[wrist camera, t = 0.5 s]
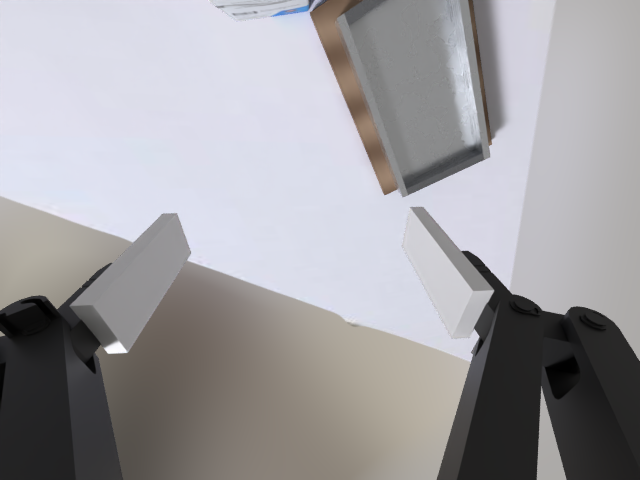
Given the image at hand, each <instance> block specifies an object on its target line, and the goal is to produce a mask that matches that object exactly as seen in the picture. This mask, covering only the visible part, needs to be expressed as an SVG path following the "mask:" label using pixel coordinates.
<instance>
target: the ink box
mask: <svg viewBox="0 0 640 480" xmlns="http://www.w3.org/2000/svg"><path fill="white" fill-rule="evenodd" d="M207 1H209V2H210V3H212V4H213V5H214V6H216V7H217V8H218V9H220V10H221V11H222V12H224V13H225V14H226V15H228V16H229V17H230V18H232V19H233V20H234V21H236V22H238V21H246V20H252V19H259V18H265V17H272V16H279V15H285V14H292V13H298V12H305V11H308V10H309V0H207Z"/></svg>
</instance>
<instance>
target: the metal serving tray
mask: <svg viewBox="0 0 640 480" xmlns="http://www.w3.org/2000/svg"><path fill="white" fill-rule="evenodd" d="M334 24H335V26H336V29H337V32H338V34H339V37H340V40H341V42H342V45H343V48H344V50H345V53H346V56H347V58H348V61H349V64H350V66H351V69H352V72H353V74H354V77H355V80H356V82H357V85H358V88H359V90H360V93H361V96H362V98H363V101H364V104H365V106H366V109H367V112H368V114H369V117H370V120H371V122H372V125H373V128H374V130H375V133H376V136H377V138H378V141H379V143H380V146H381V149H382V151H383V154H384V157H385V159H386V162H387V165H388V167H389V170H390V173H391V175H392V178H393V181H394V183H395V186H396V189H397V190H398V192H399V193H400V194H401V196H402V197H405V196H407V195H409V194H411V193H414V192H416V191H418V190H420V189H422V188H424V187H427V186H429V185H431V184H433V183H435V182H437V181H440V180H442V179H444V178H446V177H448V176H450V175H452V174H455V173H457V172H459V171H461V170H463V169H465V168H468V167H470V166H472V165H474V164H476V163H478V162H480V161H483V160H485V159H487V158H489V157H490V151H489V144H488V137H487V130H486V123H485V116H484V109H483V102H482V95H481V88H480V81H479V74H478V67H477V59H476V52H475V45H474V38H473V31H472V24H471V17H470V10H469V3H468V0H363V1H362V2H360V3H359V4H357V5H356V6H354V7H353V8H351V9H350V10H348V11H347V12H345V13H344V14H342V15H341V16H339V17H338V18H337V19H336V21H335V23H334Z"/></svg>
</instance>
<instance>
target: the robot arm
mask: <svg viewBox="0 0 640 480" xmlns="http://www.w3.org/2000/svg"><path fill="white" fill-rule="evenodd" d="M402 248H403V250H404V252H405V254H406V256H407V258H408V259H409V261H410V263H411V265H412V267H413V269H414V271H415V272H416V274H417V276H418V278H419V280H420V282H421V284H422V285H423V287H424V289H425V291H426V293H427V295H428V297H429V298H430V300H431V302H432V304H433V306H434V308H435V310H436V311H437V313H438V315H439V317H440V319H441V321H442V323H443V324H444V326H445V328H446V330H447V332H448V334H449V336H450V337H451V339H459V338H470V336H471V334H472V332H473V330H474V329H475V330H476V332H477V333H478V335H479V336H480V337H479V339H478V341H477V343H476V345H475V346H474V348H473V350H472V352H471V353H472V354H473V357H472V361H471V364H470V368H469V371H468V374H467V378H466V381H465V385H464V388H463V391H462V395H461V399H460V402H459V405H458V409H457V412H456V415H455V419H454V422H453V426H452V429H451V433H450V436H449V439H448V443H447V446H446V450H445V453H444V456H443V460H442V463H441V467H440V470H439V474H438V477H437V480H537V459H538V439H539V417H540V399H541V386H542V389H543V394H544V397H545V401H546V405H547V408H548V412H549V416H550V419H551V423H552V427H553V431H554V434H555V438H556V442H557V445H558V449H559V452H560V456H561V460H562V463H563V468H564V471H565V475H566V479H567V480H640V361H639V360H638V358H637V357H636V355H635V353H634V351H633V350H632V348H631V347H630V345H629V344H628V342H627V340H626V339H625V337H624V336H623V334H622V332H621V331H620V329H619V328H618V327H617V326H616V325H615V323H614V322H613V321H611V320H610V319H609V318H607V317H606V316H604V315H602V314H601V313H599V312H597V311H594V310H591V309H588V308H585V307H571V308H570V309H569V310H568V311H567V313H566V314H565V315H561V314H556V313H551V312H546V311H542V310H541V308H540V307H539V306H538V305H537V304H535V303H534V302H533V301H531V300H529V299H527V298H525V297H522V296H518V295H512V294H511V292H510V291H509V290H508V289H507V288H506V287H505V286H504V285H503V284H502V283H501V282H500V280H499V279H498V278H497V277H496V276H495V275H494V274H493V273H491V271H490V270H489V269H488V267H487V266H485V264H484V263H483V262H482V261H481V260H480V259H479V258H478V257H477V256H475V255H474V254H472V253H471V252H469V251H460V250H459V248H458V247H457V246H456V245H455V244H454V242H453V241H452V240H451V239H450V238H449V237H448V235H447V234H446V233H445V232H444V231H443V230H442V228H441V227H440V226H439V225H438V224H437V223H436V221H435V220H434V219H433V218H432V217H431V216H430V214H429V213H428V212H427V211H426V210H425V209H424V207H410V209H409V214H408V218H407V223H406V228H405V233H404V237H403V242H402ZM190 254H191V251H190V248H189V245H188V243H187V240H186V237H185V234H184V232H183V229H182V226H181V223H180V221H179V218H178V215H177V213H170V214H162V215H161V216H160V217H159V218H158V219H157V220H156V221H155V222H154V223H153V224H152V225H151V226H150V227H149V228H148V229H147V230H146V231H145V232H144V233H143V234H142V235H141V236H140V237H139V238H138V239H137V240H136V241H135V242H134V243H133V244H132V245H131V246H130V247H129V248H128V249H127V250H126V251H125V252H124V253H122V254H121V255H120V257H118V259H116V260H115V262H113V263H110V264H108V265H106V266H105V267H103V268H102V269H100V270H98V271H97V272H96V273H95V274H94V275H93V276H92V277H91V278H90V279H89V281H87V282H86V283H85V284H83V285H82V288H79V289H78V290H77V291H76V292H75V293H74V294H73V295H72V296H71V297H70V298H69V299H68V300H67V301H66V302H65V303H64V304H62V305H61V306H60V307H59V308H58V309H56V308H55V307H54V306H53V305H52V303H51V302H50V301H49V300H48V299H47V298H46V297H45V296H31V297H28V298H25V299H21V300H19V301H17V302H14V303H12V304H10V305H9V306H7V307H5V308H4V309H2V310H1V311H0V331H1V332H2V333H4V334H5V336H2V337H0V480H123V477H122V472H121V467H120V462H119V457H118V452H117V447H116V442H115V437H114V432H113V428H112V422H111V417H110V412H109V407H108V402H107V397H106V393H105V388H104V383H103V378H102V373H101V368H100V363H99V358H98V357H97V356H96V354H95V351H96V350H97V349H98V347H99V346H100V345H102V347H103V348H104V349H105V350H106V352H107V353H128V351H129V350H130V348H131V347H132V345H133V344H134V342H135V340H136V339H137V337H138V336H139V334H140V333H141V331H142V329H143V328H144V326H145V325H146V323H147V322H148V320H149V319H150V317H151V315H152V314H153V312H154V311H155V309H156V308H157V306H158V304H159V303H160V301H161V300H162V298H163V297H164V295H165V294H166V292H167V290H168V289H169V287H170V286H171V284H172V283H173V281H174V279H175V278H176V276H177V275H178V273H179V272H180V270H181V268H182V267H183V265H184V264H185V262H186V261H187V259H188V257H189V256H190Z"/></svg>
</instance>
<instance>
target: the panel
mask: <svg viewBox="0 0 640 480" xmlns="http://www.w3.org/2000/svg"><path fill="white" fill-rule="evenodd" d="M362 1H363V0H328V1H326V2H325V3H323V4H322V5H320V6H319V7H318V8H316V9H315V10H313V11H312V12H310V16H311V18H312V21H313V23H314V26H315V28H316V30H317V33H318V35H319V38H320V40H321V43H322V45H323V47H324V50H325V52H326V55H327V57H328V60H329V62H330V64H331V67H332V69H333V72H334V74H335V77H336V79H337V81H338V84H339V86H340V89H341V91H342V94H343V96H344V98H345V101H346V103H347V106H348V108H349V111H350V113H351V116H352V118H353V120H354V123H355V125H356V128H357V130H358V133H359V135H360V137H361V140H362V142H363V145H364V147H365V150H366V152H367V154H368V157H369V159H370V162H371V164H372V167H373V169H374V171H375V174H376V176H377V179H378V181H379V184H380V186H381V188H382V191H383V193H384V195H386V194H388V193H391V192H393V191H395V190H397V189H396V186H395V183H394V181H393V178H392V175H391V173H390V170H389V167H388V165H387V162H386V159H385V157H384V154H383V151H382V149H381V146H380V143H379V141H378V138H377V136H376V133H375V130H374V128H373V125H372V122H371V120H370V117H369V114H368V112H367V109H366V106H365V104H364V101H363V98H362V96H361V93H360V90H359V88H358V85H357V82H356V80H355V77H354V74H353V72H352V69H351V66H350V64H349V61H348V58H347V56H346V53H345V50H344V48H343V45H342V42H341V40H340V37H339V34H338V32H337V29H336V26H335V24H334V23H335V21H336V19H337V18H338V17H339V16H341V15H342V14H344V13H345V12H347V11H348V10H350V9H351V8H353V7H354V6H356V5H357V4H359V3H360V2H362ZM468 3H469V10H470V17H471V24H472V31H473V38H474V45H475V52H476V59H477V67H478V74H479V81H480V88H481V95H482V102H483V109H484V116H485V123H486V130H487V137H488V144H489V146H490V145H492V141H491V134H490V126H489V119H488V112H487V104H486V97H485V89H484V82H483V75H482V67H481V60H480V52H479V45H478V38H477V30H476V23H475V15H474V8H473V1H472V0H468Z"/></svg>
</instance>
